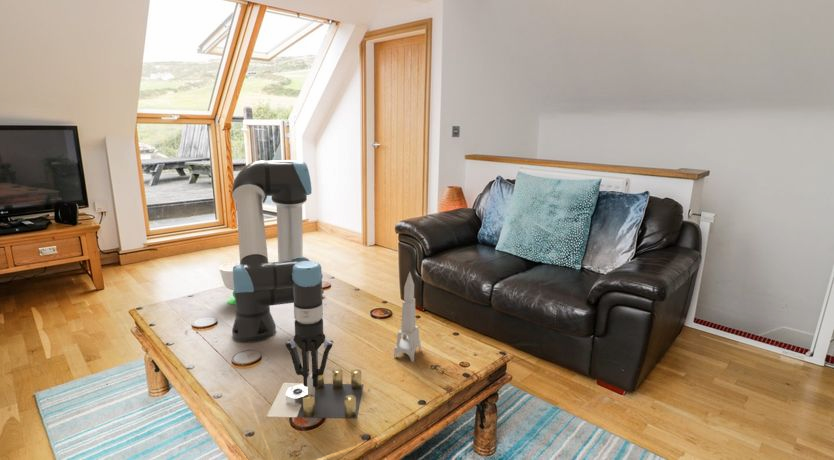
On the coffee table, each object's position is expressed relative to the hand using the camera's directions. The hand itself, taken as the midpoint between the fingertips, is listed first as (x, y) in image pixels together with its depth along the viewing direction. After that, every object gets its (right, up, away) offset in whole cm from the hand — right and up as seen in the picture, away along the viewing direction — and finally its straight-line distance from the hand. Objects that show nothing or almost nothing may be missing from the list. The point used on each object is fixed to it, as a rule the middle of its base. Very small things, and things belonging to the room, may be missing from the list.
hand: (311, 395), depth 128 cm
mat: (+2, -2, 0) cm, 3 cm away
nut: (-4, -1, 0) cm, 4 cm away
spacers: (+6, -1, 0) cm, 6 cm away
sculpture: (+27, +4, +28) cm, 39 cm away
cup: (-48, +16, +69) cm, 85 cm away
